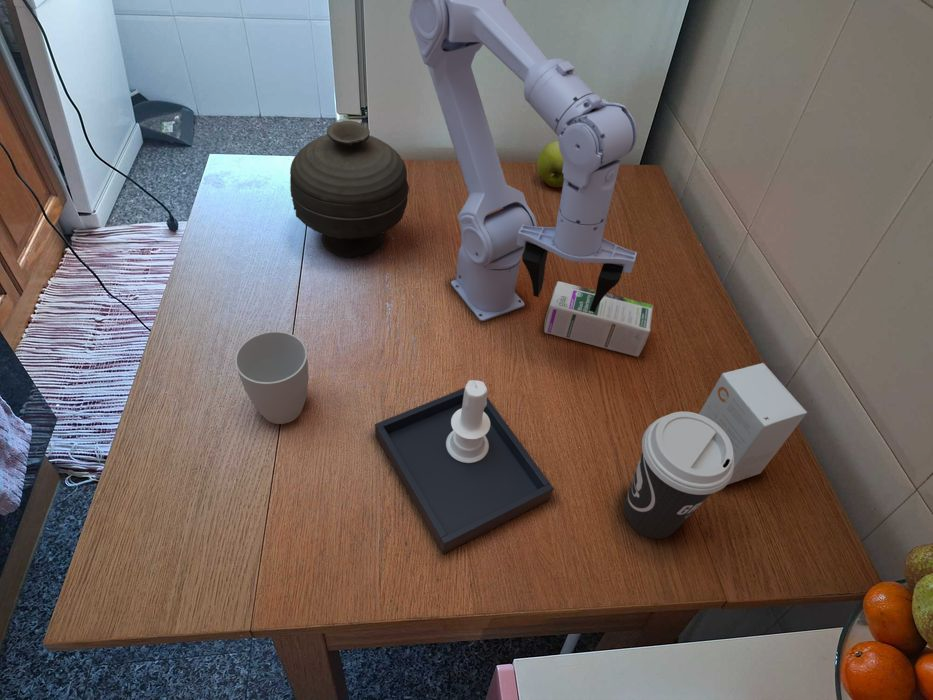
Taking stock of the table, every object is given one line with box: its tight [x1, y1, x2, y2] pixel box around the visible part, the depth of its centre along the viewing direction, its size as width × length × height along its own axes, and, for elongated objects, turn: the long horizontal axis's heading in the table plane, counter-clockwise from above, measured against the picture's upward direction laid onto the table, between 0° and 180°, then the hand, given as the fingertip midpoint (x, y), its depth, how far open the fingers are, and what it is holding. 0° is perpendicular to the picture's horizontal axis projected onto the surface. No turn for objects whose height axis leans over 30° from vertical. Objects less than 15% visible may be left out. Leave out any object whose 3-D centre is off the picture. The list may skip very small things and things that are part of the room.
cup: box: [234, 330, 309, 425], centre depth 79 cm, size 8×8×10 cm
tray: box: [374, 387, 554, 555], centre depth 78 cm, size 18×15×3 cm
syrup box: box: [543, 280, 654, 357], centre depth 94 cm, size 6×6×14 cm
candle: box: [446, 379, 490, 463], centre depth 76 cm, size 5×5×12 cm
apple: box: [536, 140, 564, 188], centre depth 120 cm, size 8×9×8 cm
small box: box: [698, 362, 808, 486], centre depth 79 cm, size 8×6×13 cm
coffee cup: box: [623, 411, 734, 540], centre depth 71 cm, size 10×10×15 cm
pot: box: [289, 120, 410, 260], centre depth 99 cm, size 18×18×20 cm
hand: (565, 299), depth 85 cm, fingers open, 7 cm apart
